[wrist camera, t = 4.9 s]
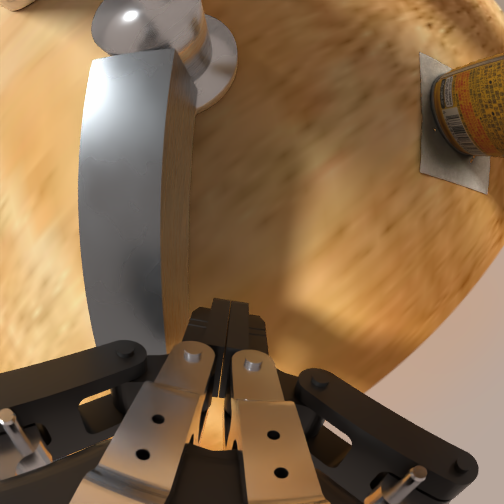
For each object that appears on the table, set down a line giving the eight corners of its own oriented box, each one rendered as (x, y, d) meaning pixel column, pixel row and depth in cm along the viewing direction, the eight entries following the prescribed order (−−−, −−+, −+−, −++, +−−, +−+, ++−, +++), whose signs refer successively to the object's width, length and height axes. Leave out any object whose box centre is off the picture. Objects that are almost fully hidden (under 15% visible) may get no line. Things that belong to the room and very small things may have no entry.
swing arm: (142, 29, 10) (106, -18, 5) (216, 24, 10) (207, -34, 6) (129, 318, 15) (93, 371, 10) (198, 325, 15) (183, 387, 10)
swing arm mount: (118, 44, 12) (111, 36, 10) (223, 10, 11) (222, 0, 10) (135, 135, 13) (127, 133, 12) (250, 100, 13) (251, 94, 12)
